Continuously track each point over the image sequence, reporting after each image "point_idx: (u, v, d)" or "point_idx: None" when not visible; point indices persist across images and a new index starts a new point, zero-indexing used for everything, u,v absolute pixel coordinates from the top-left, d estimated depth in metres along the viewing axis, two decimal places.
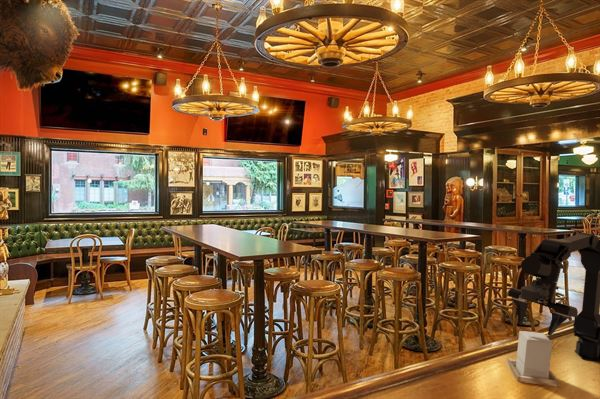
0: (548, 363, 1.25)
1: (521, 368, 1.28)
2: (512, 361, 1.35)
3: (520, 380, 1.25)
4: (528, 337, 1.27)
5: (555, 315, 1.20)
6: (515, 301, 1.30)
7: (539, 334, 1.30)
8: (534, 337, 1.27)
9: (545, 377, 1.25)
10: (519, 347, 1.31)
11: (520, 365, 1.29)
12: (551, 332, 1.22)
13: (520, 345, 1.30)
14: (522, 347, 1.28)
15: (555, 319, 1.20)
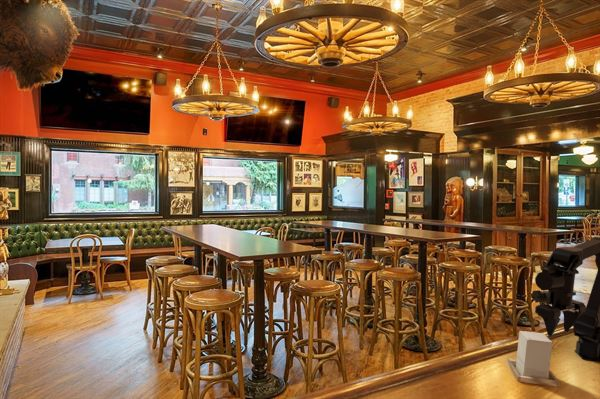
0: (548, 363, 1.25)
1: (521, 368, 1.28)
2: (512, 361, 1.35)
3: (520, 380, 1.25)
4: (528, 337, 1.27)
5: None
6: None
7: (539, 334, 1.30)
8: (534, 337, 1.27)
9: (545, 377, 1.25)
10: (519, 347, 1.31)
11: (520, 365, 1.29)
12: (548, 332, 1.33)
13: (520, 345, 1.30)
14: (522, 347, 1.28)
15: None
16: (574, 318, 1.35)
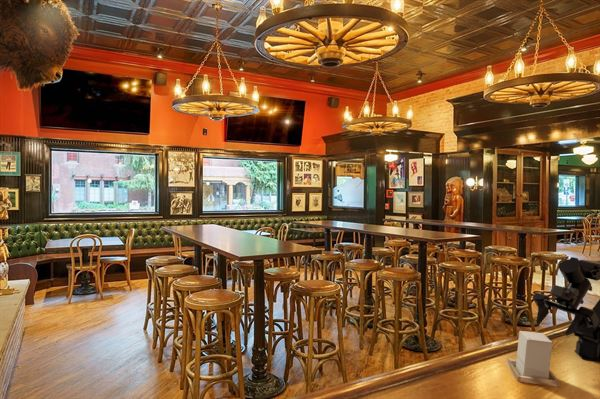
0: (548, 363, 1.25)
1: (521, 368, 1.28)
2: (512, 361, 1.35)
3: (520, 380, 1.25)
4: (528, 337, 1.27)
5: (578, 316, 1.27)
6: (539, 302, 1.38)
7: (539, 334, 1.30)
8: (534, 337, 1.27)
9: (545, 377, 1.25)
10: (519, 347, 1.31)
11: (520, 365, 1.29)
12: (569, 332, 1.28)
13: (520, 345, 1.30)
14: (522, 347, 1.28)
15: (577, 320, 1.27)
16: (546, 314, 1.38)
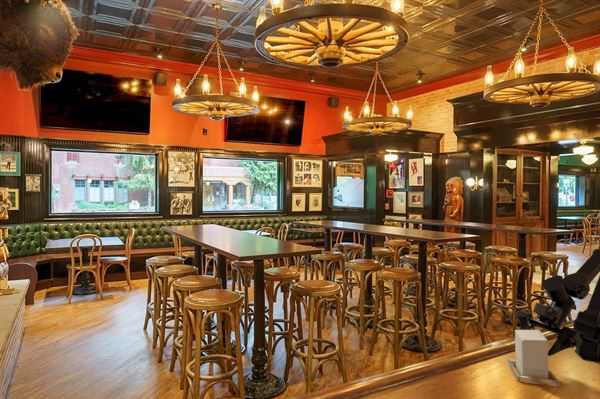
0: (546, 361, 1.24)
1: (520, 367, 1.28)
2: (512, 361, 1.35)
3: (520, 380, 1.25)
4: (523, 337, 1.26)
5: (561, 336, 1.24)
6: (522, 320, 1.35)
7: (534, 332, 1.29)
8: (529, 337, 1.26)
9: (545, 375, 1.25)
10: (516, 346, 1.31)
11: (519, 365, 1.29)
12: (551, 352, 1.24)
13: (517, 344, 1.30)
14: (519, 347, 1.28)
15: (560, 340, 1.24)
16: None
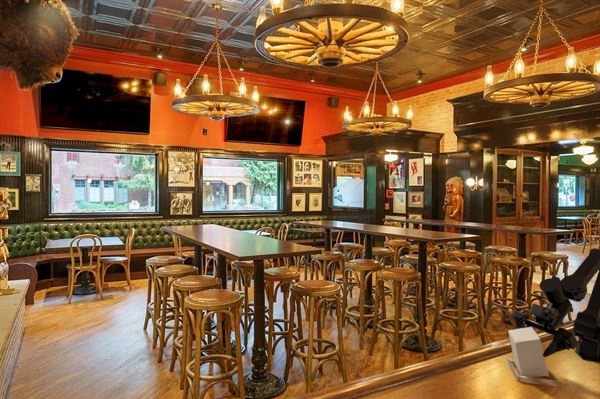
0: (542, 359, 1.24)
1: (518, 367, 1.28)
2: (512, 361, 1.35)
3: (520, 380, 1.25)
4: (516, 339, 1.26)
5: (557, 337, 1.23)
6: (518, 321, 1.34)
7: (527, 330, 1.28)
8: (522, 337, 1.25)
9: (543, 372, 1.25)
10: (512, 347, 1.30)
11: (517, 365, 1.29)
12: (546, 354, 1.23)
13: (512, 345, 1.29)
14: (514, 349, 1.27)
15: (555, 342, 1.23)
16: None
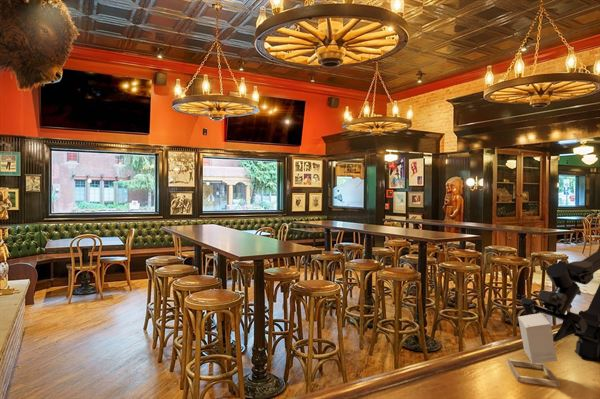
0: (552, 344, 1.25)
1: (528, 353, 1.29)
2: (512, 361, 1.35)
3: (520, 380, 1.25)
4: (527, 324, 1.27)
5: (566, 321, 1.24)
6: (526, 307, 1.35)
7: (537, 316, 1.30)
8: (532, 323, 1.27)
9: (553, 357, 1.26)
10: (522, 333, 1.31)
11: (527, 351, 1.30)
12: (557, 338, 1.25)
13: (522, 331, 1.31)
14: (524, 334, 1.29)
15: (565, 326, 1.24)
16: None
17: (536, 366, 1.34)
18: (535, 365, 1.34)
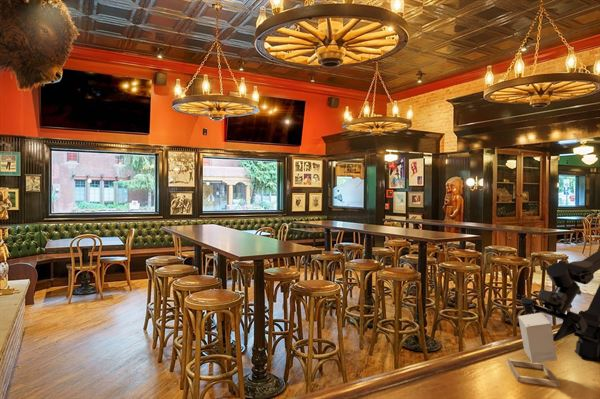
0: (552, 343, 1.25)
1: (528, 352, 1.29)
2: (512, 361, 1.35)
3: (520, 380, 1.25)
4: (527, 323, 1.27)
5: (566, 321, 1.24)
6: (526, 306, 1.35)
7: (537, 315, 1.30)
8: (532, 322, 1.27)
9: (553, 357, 1.26)
10: (522, 332, 1.31)
11: (527, 350, 1.30)
12: (557, 338, 1.25)
13: (522, 330, 1.31)
14: (524, 333, 1.29)
15: (565, 326, 1.24)
16: None
17: (536, 366, 1.34)
18: (535, 365, 1.34)
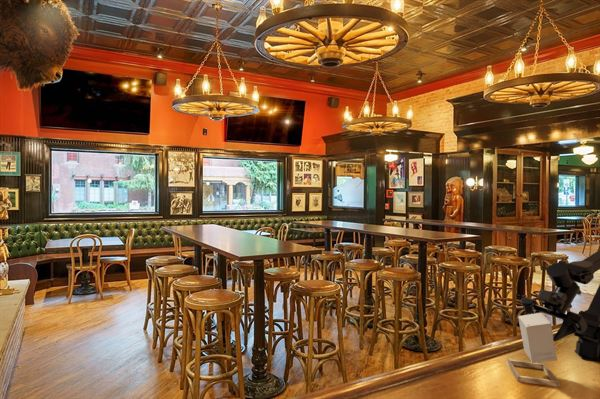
0: (552, 343, 1.25)
1: (528, 352, 1.29)
2: (512, 361, 1.35)
3: (520, 380, 1.25)
4: (527, 323, 1.27)
5: (566, 321, 1.24)
6: (526, 306, 1.35)
7: (537, 315, 1.30)
8: (532, 322, 1.27)
9: (553, 357, 1.26)
10: (522, 332, 1.31)
11: (527, 350, 1.30)
12: (557, 338, 1.25)
13: (522, 330, 1.31)
14: (524, 333, 1.29)
15: (565, 326, 1.24)
16: None
17: (536, 366, 1.34)
18: (535, 365, 1.34)
